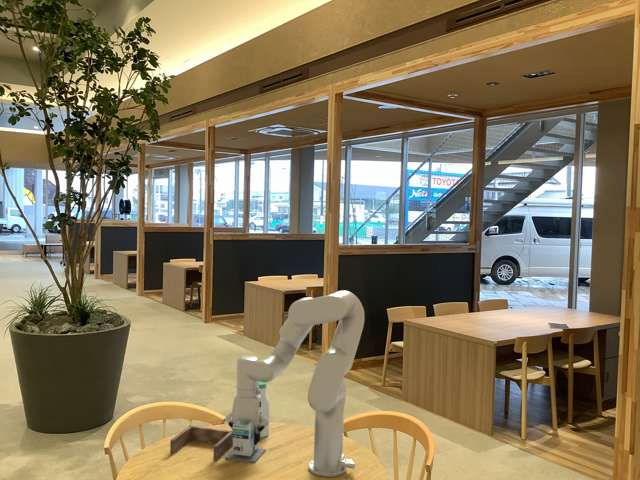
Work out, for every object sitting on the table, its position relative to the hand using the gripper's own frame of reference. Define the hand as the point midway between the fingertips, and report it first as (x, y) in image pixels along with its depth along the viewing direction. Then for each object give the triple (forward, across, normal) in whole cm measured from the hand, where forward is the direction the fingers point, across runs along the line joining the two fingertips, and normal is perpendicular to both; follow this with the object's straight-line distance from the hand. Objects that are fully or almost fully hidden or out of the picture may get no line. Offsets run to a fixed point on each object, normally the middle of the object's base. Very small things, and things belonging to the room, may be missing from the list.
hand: (246, 441), depth 205 cm
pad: (+5, 0, 0) cm, 5 cm away
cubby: (+5, +16, +1) cm, 17 cm away
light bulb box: (+3, 0, 0) cm, 3 cm away
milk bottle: (+5, +2, -19) cm, 20 cm away
